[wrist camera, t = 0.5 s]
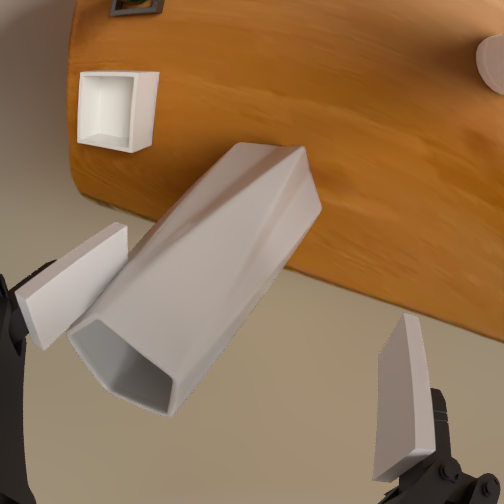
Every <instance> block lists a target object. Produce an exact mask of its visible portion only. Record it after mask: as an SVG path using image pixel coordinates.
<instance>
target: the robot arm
mask: <svg viewBox="0 0 504 504" xmlns="http://www.w3.org/2000/svg"><path fill="white" fill-rule="evenodd" d="M127 262H128V247H127V225H123V224H120V223H118V222H114V223H112V224H111V225H109V226H108V227H106V228H105V229H103V230H102V231H100V232H99V233H97V234H95V235H94V236H92V237H91V238H90V239H88V240H86V241H85V242H83V243H82V244H80V245H79V246H78V247H76V248H74V249H73V250H71V251H70V252H69V253H67V254H66V255H64V256H63V257H61V258H60V259H59V260H53V261H51V262H48V263H46V264H44V265H43V266H41V267H40V268H39V269H38V270H36V271H34V272H33V273H32V274H31V275H29V276H28V277H26V278H25V279H24V280H22V281H21V282H20V283H18V284H17V285H16V286H14V287H13V288H12V289H10V290H9V291H8V289H7V286H6V283H5V279H4V277H3V275H2V274H0V504H36V500H35V498H34V495H33V494H32V492H31V490H30V488H29V486H28V481H27V473H26V464H25V453H24V436H23V382H24V365H25V352H26V338H25V336H26V335H27V334H28V333H29V334H30V336H31V339H32V341H33V343H34V344H35V345H37V346H38V347H39V348H41V349H42V350H46V349H47V348H48V346H50V345H51V343H52V342H54V341H55V340H56V339H57V338H58V337H59V336H60V335H61V334H62V333H63V332H64V331H65V330H66V329H67V328H68V327H69V326H70V325H71V324H72V323H73V322H74V321H75V320H76V319H78V318H79V317H80V316H81V315H82V314H83V313H84V312H85V311H86V310H87V309H88V308H89V307H90V306H91V305H93V303H94V302H95V301H96V299H97V298H98V297H99V296H100V294H101V293H102V292H103V291H104V289H105V288H106V287H107V286H108V285H109V283H110V282H111V281H112V280H113V279H114V277H115V276H116V275H117V274H118V273H119V271H120V270H121V269H122V268H123V267H124V265H125V264H126V263H127ZM446 412H447V409H446V402H445V399H444V397H443V395H442V393H441V391H440V390H438V389H434V388H430V382H429V375H428V368H427V362H426V356H425V350H424V344H423V339H422V334H421V328H420V323H419V319H418V316H414V315H411V314H407V313H403V314H402V316H401V318H400V320H399V321H398V323H397V325H396V326H395V328H394V330H393V332H392V333H391V335H390V337H389V338H388V340H387V342H386V343H385V345H384V346H383V348H382V350H381V351H380V353H379V354H378V412H377V432H376V447H375V459H374V470H373V479H372V480H373V481H381V482H390V483H391V482H392V481H394V480H395V479H397V478H398V477H399V486H397V487H395V488H394V489H392V490H390V491H389V492H387V493H386V494H384V495H385V496H386V497H385V498H384V499H383V500H381V501H380V502H379V503H378V504H497V501H498V498H499V495H500V483H499V481H498V479H497V478H496V477H495V476H494V475H493V474H490V473H487V474H484V475H482V476H480V477H479V478H474V477H472V476H470V475H467V474H465V473H463V472H462V471H461V467H460V464H459V463H458V462H457V460H455V459H454V458H452V457H451V448H450V437H449V426H448V423H447V422H448V417H447V414H446Z"/></svg>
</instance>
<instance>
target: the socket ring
mask: <svg viewBox="0 0 504 504" xmlns="http://www.w3.org/2000/svg"><path fill="white" fill-rule="evenodd" d="M122 2H123V1H120V0H113V2H112V7H111V12H110V16H115V17H117V16H127V15H138V14H154V13H162V10H163V5H164V0H154V1H153V6H152V7H144V8H133V9H124V10H121V7H122Z"/></svg>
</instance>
